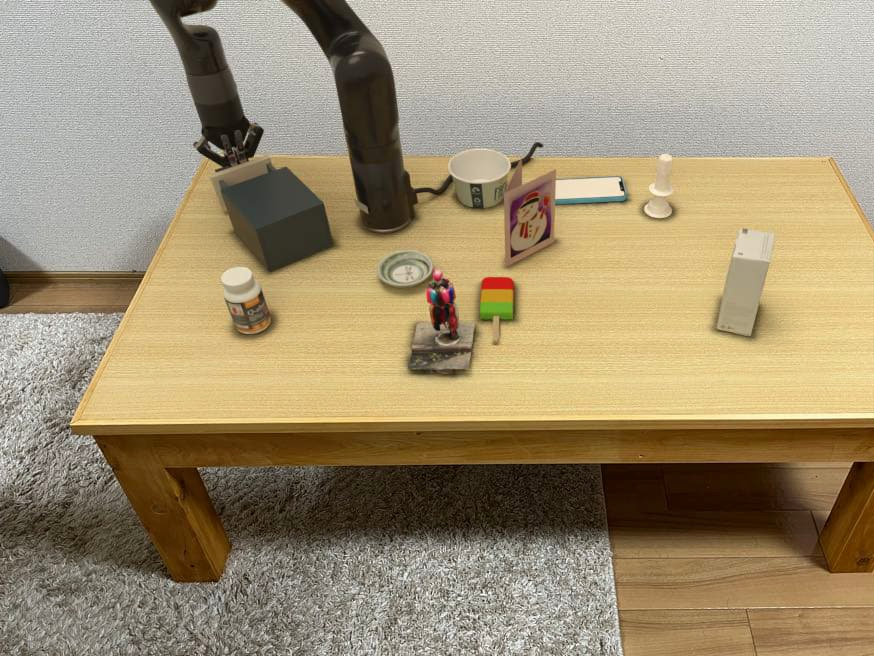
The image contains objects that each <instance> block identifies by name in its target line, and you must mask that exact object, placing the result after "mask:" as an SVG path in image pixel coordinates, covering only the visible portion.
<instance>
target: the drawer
mask: <svg viewBox="0 0 874 656" xmlns="http://www.w3.org/2000/svg"><path fill="white" fill-rule="evenodd" d="M274 170H277V168H275V166H274V165H273V163H272V160H271V157H270V156H269V155H268V154H265V155H263V156H259V157H257V158H254V159H251V160H250V158H249V159H247V161H246V163H243V164H239V165H237V166H234V167H231V168H230V167H229V166H226V167H222V166H221V167H220V168H216V169H214V172H213V173H210V174H208V177H209V180H210V182H211V186H212V188H213V192H214V194H215V198H216V200H217V203H218V205H219V208H220V210H221V211H222V212H223V213H225V212H228V211H227V208H226V206H225V203H224V200H223V197H222V194H221V191H220V190H221V189H224V188H226V187H229V186H232V185H235V184H238V183H241V182H243V181H246V180H249V179H252V178H255V177H258V176H260V175H263V174H266V173H269V172H272V171H274Z"/></svg>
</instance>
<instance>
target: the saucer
mask: <svg viewBox="0 0 874 656" xmlns="http://www.w3.org/2000/svg"><path fill="white" fill-rule="evenodd" d="M433 270H434V262H433V260H432V258H431V257H430V256H429V255H428V254H426V253H424V252H421V251H419V250H415V249H401V250H396V251H392V252H391V253H388V254H387V255H385V256H384V257H382V259H380V261H379V262H378V263H377V266H376V275H377V276H378V278H379V280H380V281H382V282H383V283H384V284H386V285H388V286H390V287H391V286H392V287H395V288H401V289H402V288H413V287H415V286H419V285H420V284H422V283H423V282H425V281H426V280H428V279H429V278H430V277H431V275H433Z"/></svg>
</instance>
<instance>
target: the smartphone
mask: <svg viewBox="0 0 874 656" xmlns="http://www.w3.org/2000/svg"><path fill="white" fill-rule="evenodd" d="M626 199H627V191H626V187H625V182H624V178H623V177H622V176H620V175H608V176H586V177H568V178H567V177H566V178H565V177H563V178H556V191H555V205H566V204H567V205H568V204H588V203H590V204H591V203H606V202H607V203H608V202H624V201H625V200H626Z"/></svg>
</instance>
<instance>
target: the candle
mask: <svg viewBox="0 0 874 656" xmlns="http://www.w3.org/2000/svg"><path fill="white" fill-rule="evenodd" d="M655 172H656V175H655V182H653V183H651V184H649V186H648V191H649V193H651V194H652V195H654V197H653V198H651V199H650V200H649V202H648V203H647V204H645V205H644V207H643V211H644V213H645V214H646V215H647V216H649V217H651V218H653V219H665V218H667V217H669V216H671V215H672V212H673V209H672V207H671V206H670V203H669V201H668V200H667V198H666V197H669V196H671V195H673V193H674V192H675V189H674V187H673V186H672V185H671V184H670V180H671V174H672V172H673V156H672V155H671V154H669V153H662V154H660V155H659V157H658V160H657V165H656V168H655Z"/></svg>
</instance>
